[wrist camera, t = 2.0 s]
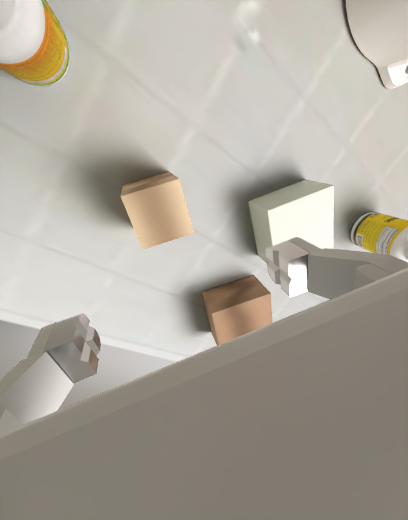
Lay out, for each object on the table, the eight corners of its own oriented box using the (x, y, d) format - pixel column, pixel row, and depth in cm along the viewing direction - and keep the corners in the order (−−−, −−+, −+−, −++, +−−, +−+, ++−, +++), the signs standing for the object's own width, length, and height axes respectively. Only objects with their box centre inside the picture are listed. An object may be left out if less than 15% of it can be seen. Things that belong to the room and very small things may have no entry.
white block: (304, 179, 29) (333, 185, 25) (307, 234, 33) (333, 247, 29) (247, 200, 28) (267, 210, 24) (257, 254, 32) (276, 271, 28)
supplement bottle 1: (84, 44, 18) (44, -39, 10) (51, 103, 19) (-11, 73, 11) (8, -28, 16) (-130, -219, 8) (-26, 44, 17) (-181, -53, 9)
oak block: (169, 171, 24) (179, 179, 19) (182, 215, 27) (194, 232, 22) (123, 185, 24) (120, 196, 19) (140, 228, 26) (142, 249, 21)
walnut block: (253, 274, 34) (270, 293, 29) (257, 314, 38) (273, 336, 33) (201, 291, 33) (211, 313, 28) (211, 331, 36) (221, 356, 32)
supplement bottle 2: (385, 216, 35) (464, 238, 27) (365, 247, 37) (433, 277, 29) (362, 206, 33) (440, 227, 25) (342, 240, 35) (409, 270, 27)
